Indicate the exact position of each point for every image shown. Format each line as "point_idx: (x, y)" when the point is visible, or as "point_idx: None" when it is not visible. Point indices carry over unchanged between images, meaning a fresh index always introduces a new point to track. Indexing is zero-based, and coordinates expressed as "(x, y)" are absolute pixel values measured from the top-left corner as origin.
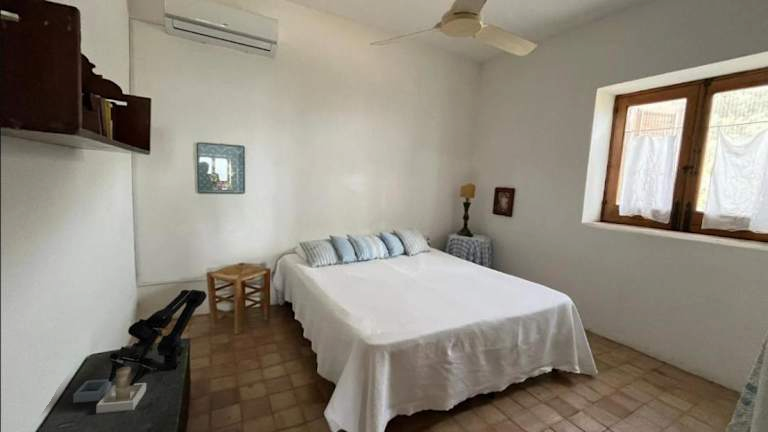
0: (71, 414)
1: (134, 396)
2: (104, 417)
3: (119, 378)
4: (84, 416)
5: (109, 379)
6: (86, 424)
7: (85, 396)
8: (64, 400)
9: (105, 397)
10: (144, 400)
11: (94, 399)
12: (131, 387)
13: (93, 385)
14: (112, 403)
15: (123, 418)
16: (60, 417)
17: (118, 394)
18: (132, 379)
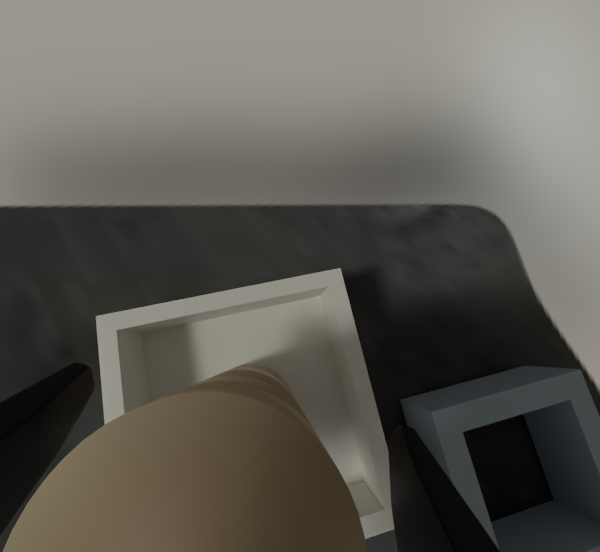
0: (448, 277)
1: None
2: (265, 261)
3: (222, 381)
4: (373, 265)
5: (414, 441)
6: (317, 211)
7: (497, 385)
8: None
9: (345, 355)
10: None
11: (431, 393)
12: None
13: (559, 528)
14: (246, 290)
15: (152, 256)
16: (478, 254)
17: (250, 366)
18: (19, 422)
